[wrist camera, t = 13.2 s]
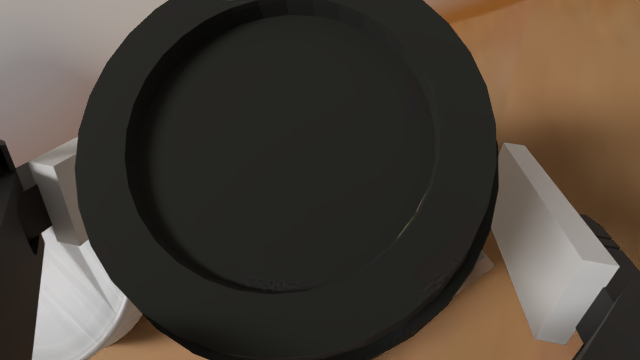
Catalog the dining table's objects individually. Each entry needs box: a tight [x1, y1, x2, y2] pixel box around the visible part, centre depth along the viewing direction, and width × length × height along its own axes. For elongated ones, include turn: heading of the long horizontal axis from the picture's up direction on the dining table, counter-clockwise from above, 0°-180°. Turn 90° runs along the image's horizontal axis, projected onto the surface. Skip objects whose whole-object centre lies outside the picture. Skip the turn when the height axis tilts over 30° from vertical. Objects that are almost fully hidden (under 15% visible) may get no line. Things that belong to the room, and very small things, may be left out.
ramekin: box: [32, 226, 143, 360], centre depth 27 cm, size 11×11×5 cm
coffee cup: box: [75, 0, 499, 360], centre depth 14 cm, size 10×10×15 cm
